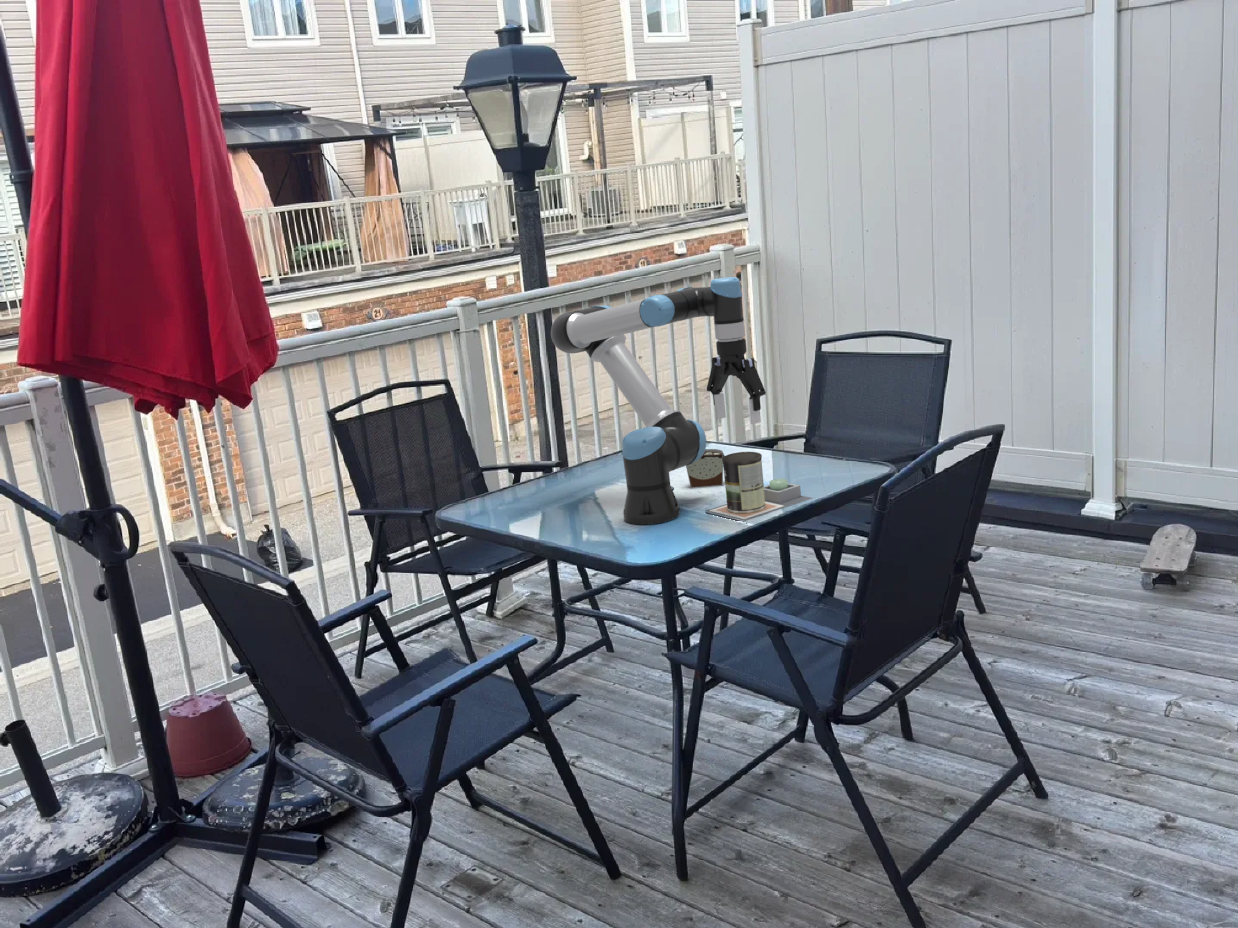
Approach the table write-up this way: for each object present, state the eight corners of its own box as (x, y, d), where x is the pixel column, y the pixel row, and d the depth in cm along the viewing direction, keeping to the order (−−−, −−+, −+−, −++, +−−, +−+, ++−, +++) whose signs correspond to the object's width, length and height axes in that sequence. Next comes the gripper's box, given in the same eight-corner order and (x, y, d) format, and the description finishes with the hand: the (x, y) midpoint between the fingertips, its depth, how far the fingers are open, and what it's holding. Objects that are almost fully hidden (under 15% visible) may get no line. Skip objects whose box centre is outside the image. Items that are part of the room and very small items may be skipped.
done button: (779, 496, 289) (778, 484, 289) (766, 494, 293) (765, 482, 292) (792, 492, 292) (791, 480, 291) (779, 490, 296) (778, 477, 295)
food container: (728, 479, 321) (724, 446, 319) (728, 485, 315) (724, 451, 313) (686, 483, 323) (683, 450, 320) (685, 488, 317) (682, 455, 314)
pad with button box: (745, 523, 276) (744, 509, 275) (705, 513, 289) (704, 499, 288) (813, 500, 289) (812, 487, 288) (771, 492, 302) (770, 479, 301)
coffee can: (722, 514, 284) (717, 461, 280) (732, 502, 293) (727, 452, 290) (761, 513, 280) (756, 460, 277) (769, 502, 289) (765, 450, 286)
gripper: (775, 338, 268) (782, 422, 273) (710, 335, 288) (718, 413, 293) (752, 343, 264) (760, 428, 269) (688, 340, 284) (696, 419, 289)
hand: (738, 420), depth 281 cm, fingers open, 13 cm apart
